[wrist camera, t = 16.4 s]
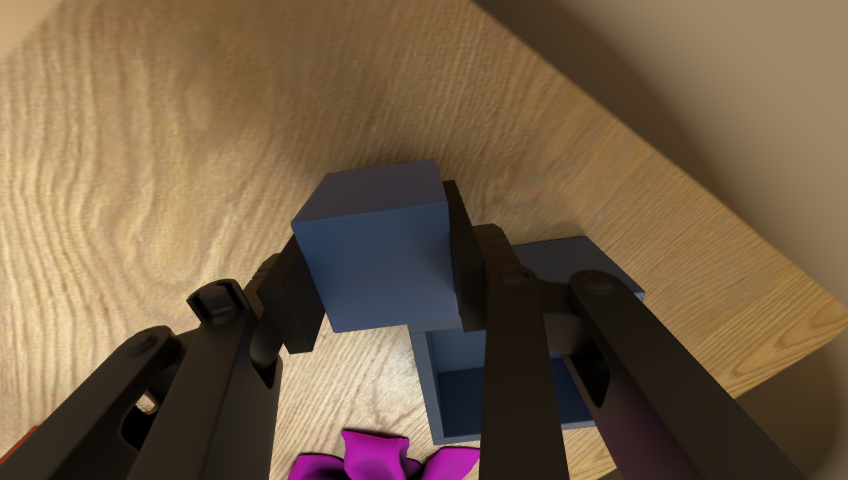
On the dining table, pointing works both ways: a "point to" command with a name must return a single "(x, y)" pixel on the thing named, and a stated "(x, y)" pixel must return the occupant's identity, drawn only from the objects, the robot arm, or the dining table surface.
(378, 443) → the cloth
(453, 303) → the blue block
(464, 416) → the blue bin
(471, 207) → the dining table surface
